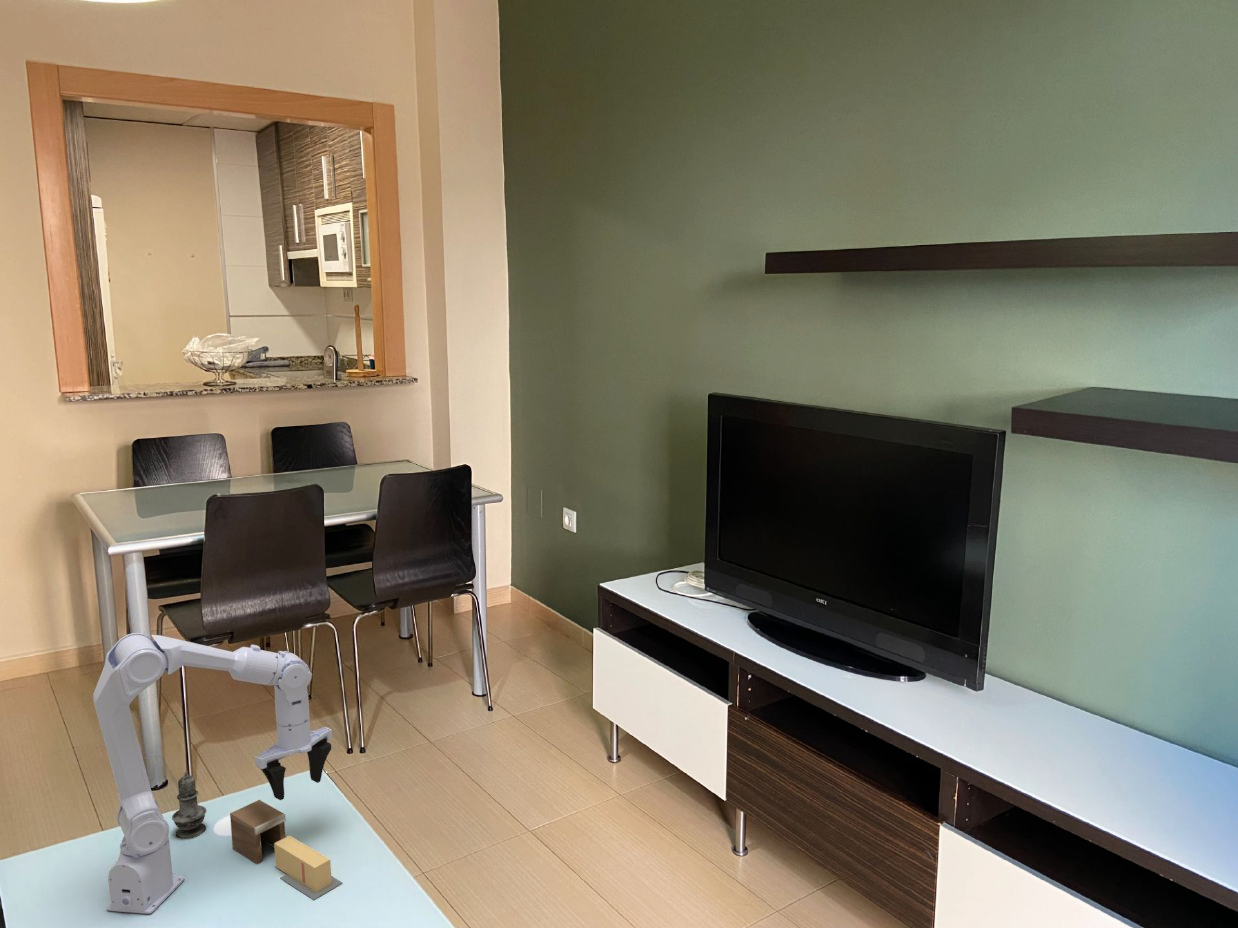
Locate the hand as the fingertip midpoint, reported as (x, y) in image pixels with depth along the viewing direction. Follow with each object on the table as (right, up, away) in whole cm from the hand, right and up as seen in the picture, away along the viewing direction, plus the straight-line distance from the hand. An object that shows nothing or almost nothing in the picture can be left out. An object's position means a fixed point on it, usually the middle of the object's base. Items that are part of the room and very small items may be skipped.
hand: (297, 788), depth 165 cm
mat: (+6, -12, -11) cm, 17 cm away
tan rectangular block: (+4, -11, -10) cm, 16 cm away
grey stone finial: (-22, -10, +4) cm, 24 cm away
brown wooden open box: (-6, -10, -2) cm, 12 cm away
